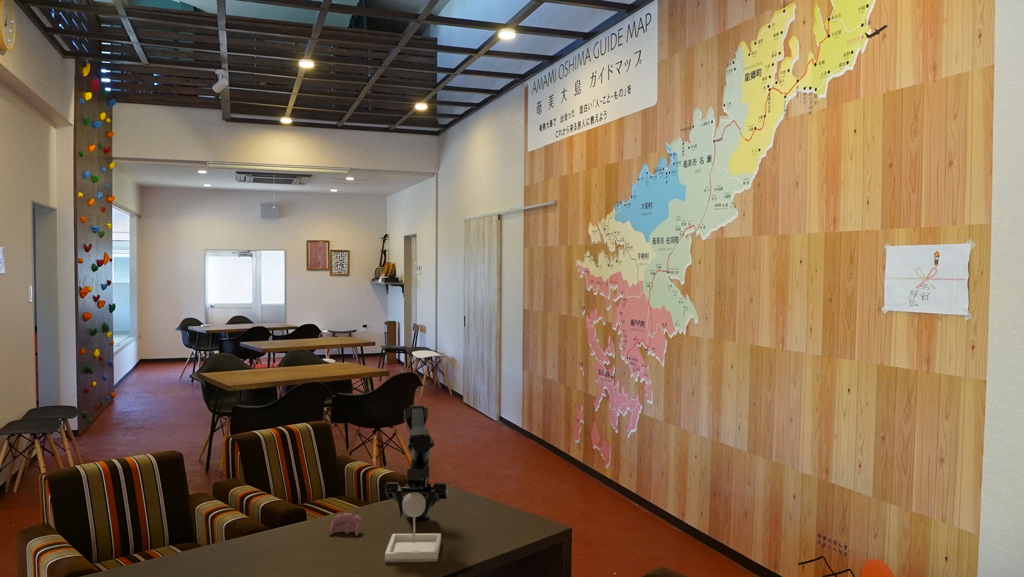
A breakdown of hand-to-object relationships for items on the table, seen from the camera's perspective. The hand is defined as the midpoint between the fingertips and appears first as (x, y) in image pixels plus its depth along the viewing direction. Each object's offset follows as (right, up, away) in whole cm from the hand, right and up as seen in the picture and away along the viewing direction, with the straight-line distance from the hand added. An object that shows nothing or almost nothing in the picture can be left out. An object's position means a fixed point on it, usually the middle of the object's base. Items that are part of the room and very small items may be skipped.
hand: (413, 517), depth 199 cm
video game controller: (-24, -11, +16) cm, 31 cm away
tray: (0, -11, +1) cm, 11 cm away
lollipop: (0, -8, +1) cm, 8 cm away
